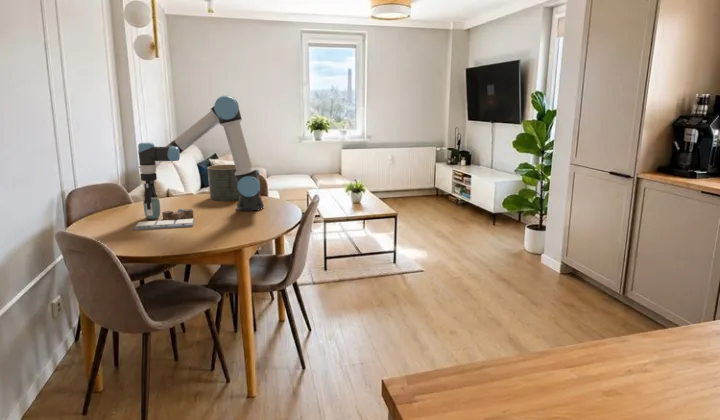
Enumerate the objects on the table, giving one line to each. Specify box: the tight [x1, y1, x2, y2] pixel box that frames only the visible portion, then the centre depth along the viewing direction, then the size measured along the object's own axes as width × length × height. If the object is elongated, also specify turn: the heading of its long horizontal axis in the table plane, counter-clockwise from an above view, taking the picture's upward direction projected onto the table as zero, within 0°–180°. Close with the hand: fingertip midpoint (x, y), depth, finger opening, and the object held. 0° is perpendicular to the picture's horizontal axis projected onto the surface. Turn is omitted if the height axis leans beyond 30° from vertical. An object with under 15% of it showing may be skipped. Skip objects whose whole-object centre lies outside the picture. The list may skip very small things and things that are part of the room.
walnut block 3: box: [183, 208, 194, 219], centre depth 245 cm, size 4×4×4 cm
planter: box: [207, 164, 240, 202], centre depth 291 cm, size 22×22×20 cm
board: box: [133, 218, 195, 231], centre depth 229 cm, size 27×12×1 cm, turn 106°
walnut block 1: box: [161, 210, 175, 221], centre depth 241 cm, size 4×4×4 cm
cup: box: [142, 198, 161, 220], centre depth 241 cm, size 8×8×10 cm
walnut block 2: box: [171, 211, 184, 220], centre depth 238 cm, size 4×4×4 cm
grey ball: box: [177, 208, 185, 216], centre depth 248 cm, size 4×4×4 cm
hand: (151, 212), depth 241 cm, fingers open, 13 cm apart
